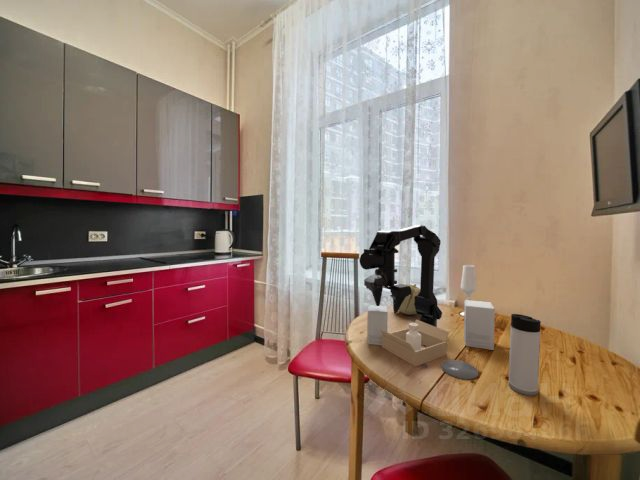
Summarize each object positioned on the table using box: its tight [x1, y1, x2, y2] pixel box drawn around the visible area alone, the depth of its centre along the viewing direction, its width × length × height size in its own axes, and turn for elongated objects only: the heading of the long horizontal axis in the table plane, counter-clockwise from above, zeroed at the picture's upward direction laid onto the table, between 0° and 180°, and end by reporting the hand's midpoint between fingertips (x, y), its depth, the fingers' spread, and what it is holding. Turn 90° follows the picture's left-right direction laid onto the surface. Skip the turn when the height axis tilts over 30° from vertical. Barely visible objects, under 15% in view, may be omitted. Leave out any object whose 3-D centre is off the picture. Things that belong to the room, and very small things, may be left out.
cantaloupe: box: [398, 283, 420, 316], centre depth 132 cm, size 15×15×15 cm
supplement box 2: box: [463, 299, 496, 351], centre depth 99 cm, size 9×9×15 cm
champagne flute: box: [459, 264, 477, 317], centre depth 130 cm, size 7×7×24 cm
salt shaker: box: [406, 322, 422, 351], centre depth 93 cm, size 4×4×10 cm
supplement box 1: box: [366, 305, 389, 346], centre depth 101 cm, size 7×7×13 cm
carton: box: [380, 319, 450, 367], centre depth 93 cm, size 19×15×7 cm
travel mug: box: [508, 313, 542, 397], centre depth 71 cm, size 6×7×20 cm
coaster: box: [440, 359, 479, 380], centre depth 81 cm, size 10×10×1 cm
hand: (386, 309), depth 96 cm, fingers open, 9 cm apart
